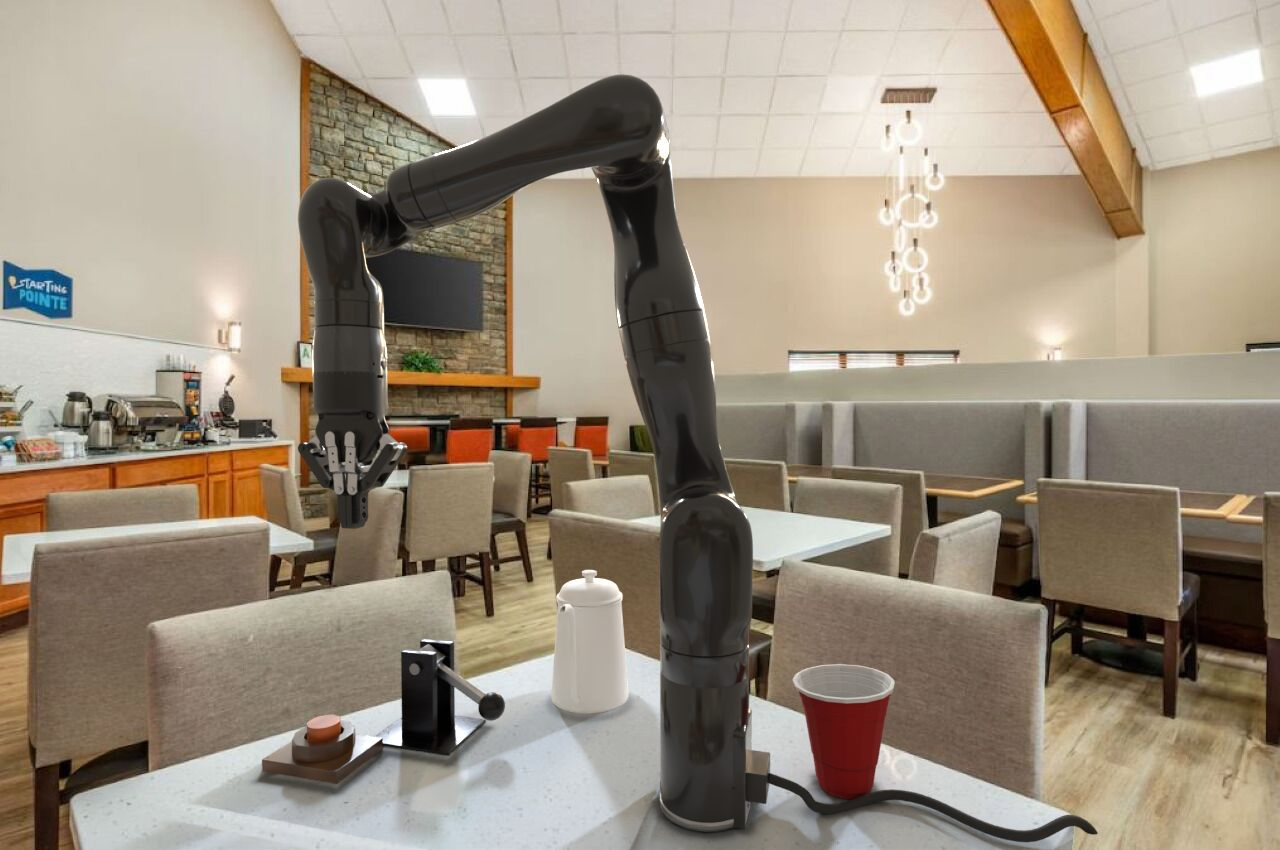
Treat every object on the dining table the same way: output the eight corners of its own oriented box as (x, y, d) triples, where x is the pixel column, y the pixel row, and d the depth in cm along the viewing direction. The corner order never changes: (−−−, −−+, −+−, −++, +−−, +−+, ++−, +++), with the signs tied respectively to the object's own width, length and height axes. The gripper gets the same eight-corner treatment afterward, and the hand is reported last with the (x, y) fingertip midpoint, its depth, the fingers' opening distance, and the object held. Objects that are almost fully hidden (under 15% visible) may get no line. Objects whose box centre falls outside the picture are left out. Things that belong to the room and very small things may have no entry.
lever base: (485, 728, 88) (485, 638, 87) (448, 763, 79) (447, 663, 79) (412, 718, 91) (411, 631, 90) (368, 750, 82) (367, 654, 82)
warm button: (347, 731, 79) (347, 716, 79) (325, 745, 76) (325, 730, 76) (322, 727, 80) (322, 712, 80) (299, 741, 77) (299, 726, 77)
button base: (383, 755, 81) (383, 722, 81) (336, 792, 73) (336, 755, 73) (313, 744, 84) (313, 713, 83) (261, 778, 76) (261, 743, 76)
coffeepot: (519, 742, 84) (518, 592, 83) (577, 667, 108) (577, 551, 108) (604, 751, 82) (603, 597, 81) (644, 672, 106) (643, 554, 106)
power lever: (502, 718, 84) (513, 697, 83) (490, 730, 81) (501, 708, 80) (421, 660, 87) (432, 639, 86) (406, 669, 84) (417, 648, 83)
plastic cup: (813, 750, 82) (814, 652, 82) (906, 778, 76) (906, 672, 75) (776, 790, 73) (776, 681, 73) (877, 826, 67) (878, 706, 67)
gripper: (274, 370, 72) (277, 531, 73) (380, 366, 69) (383, 536, 69) (325, 373, 79) (327, 520, 80) (423, 370, 76) (425, 524, 76)
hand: (353, 527), depth 74 cm, fingers closed
